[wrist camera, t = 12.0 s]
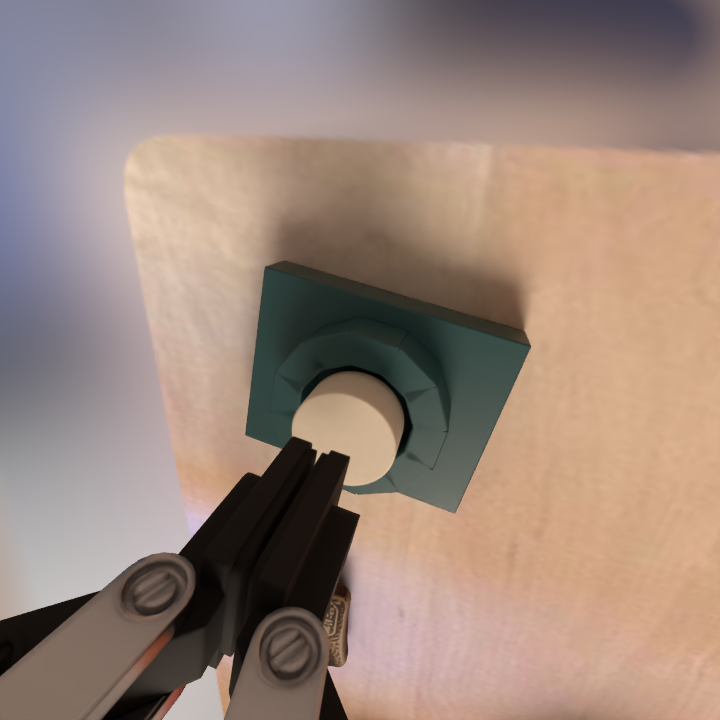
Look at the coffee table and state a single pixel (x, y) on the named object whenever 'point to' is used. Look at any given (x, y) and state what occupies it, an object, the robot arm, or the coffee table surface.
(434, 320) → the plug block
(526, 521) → the coffee table surface
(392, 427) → the power button
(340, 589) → the statue
